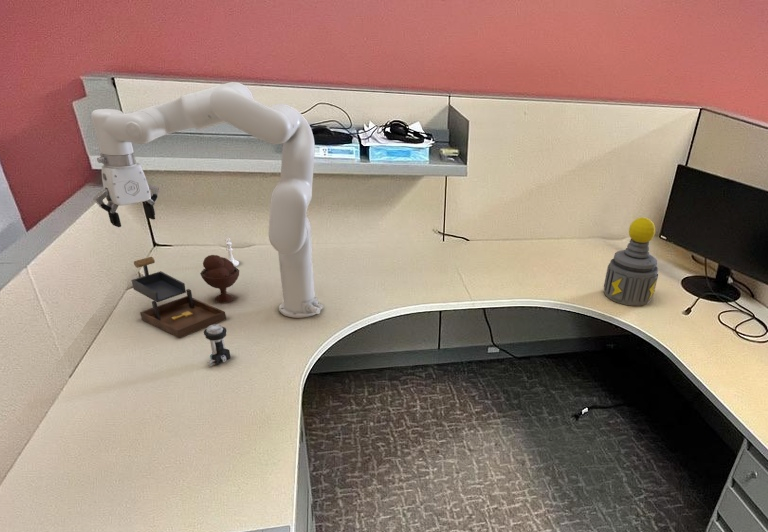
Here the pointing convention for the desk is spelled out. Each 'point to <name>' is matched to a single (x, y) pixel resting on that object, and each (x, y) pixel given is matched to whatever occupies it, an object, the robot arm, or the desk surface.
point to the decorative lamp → (633, 268)
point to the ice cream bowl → (220, 275)
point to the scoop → (156, 283)
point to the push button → (217, 344)
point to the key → (182, 315)
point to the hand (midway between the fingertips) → (134, 222)
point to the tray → (184, 325)
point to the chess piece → (231, 252)
